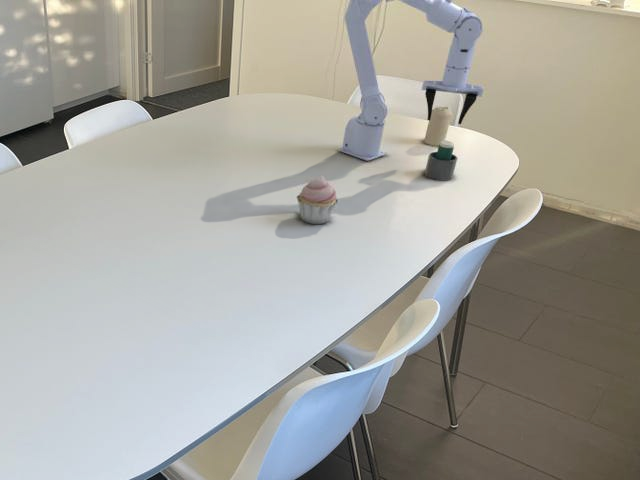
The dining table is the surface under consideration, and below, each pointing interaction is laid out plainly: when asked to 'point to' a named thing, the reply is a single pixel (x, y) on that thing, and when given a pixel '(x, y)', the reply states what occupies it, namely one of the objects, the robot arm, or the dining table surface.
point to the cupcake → (317, 201)
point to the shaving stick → (445, 150)
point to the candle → (438, 126)
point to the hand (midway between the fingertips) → (444, 121)
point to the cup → (440, 167)
